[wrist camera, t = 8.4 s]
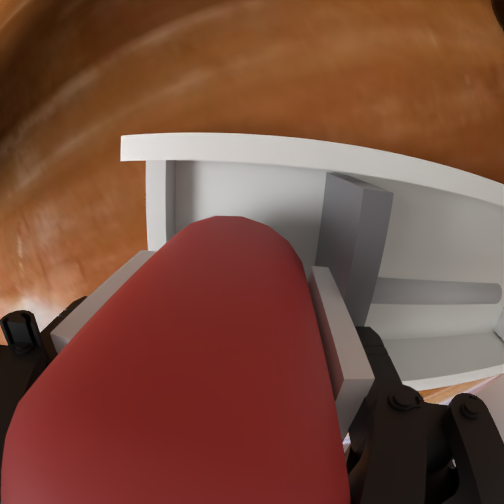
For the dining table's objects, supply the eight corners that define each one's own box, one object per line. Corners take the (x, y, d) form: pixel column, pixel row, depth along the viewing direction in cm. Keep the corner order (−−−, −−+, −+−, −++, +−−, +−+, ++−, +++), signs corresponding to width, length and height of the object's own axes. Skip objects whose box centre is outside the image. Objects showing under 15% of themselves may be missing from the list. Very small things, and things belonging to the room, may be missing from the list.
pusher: (302, 337, 16) (311, 411, 11) (326, 172, 13) (363, 188, 8) (449, 335, 16) (487, 387, 11) (489, 203, 13) (553, 231, 7)
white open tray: (170, 328, 18) (133, 405, 12) (165, 137, 14) (92, 135, 8) (489, 334, 17) (529, 384, 11) (530, 198, 13) (593, 224, 7)
